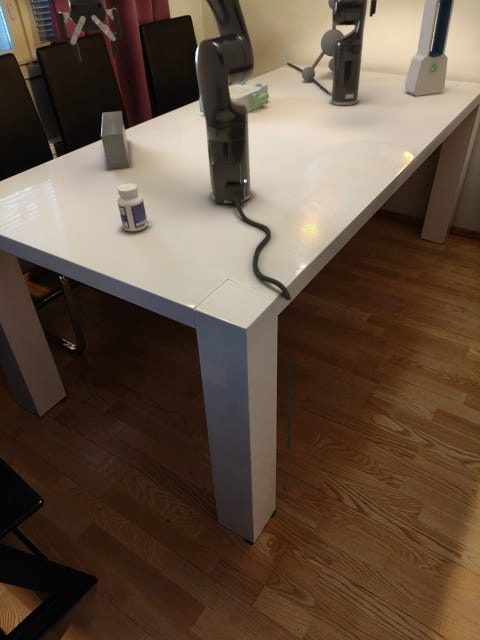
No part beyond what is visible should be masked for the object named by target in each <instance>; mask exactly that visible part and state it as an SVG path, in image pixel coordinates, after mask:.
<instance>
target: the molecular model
mask: <svg viewBox="0 0 480 640" xmlns="http://www.w3.org/2000/svg"><path fill="white" fill-rule="evenodd" d="M328 7H329V8H330V9H331V10H332V11H333V0H328ZM331 23H332V24H331V29H329V30H326V31H325V33H323V35H322V37H321V40H320V48H321V52H320V54H318V56H317V58H316V59H315V61H314V62H313V64H312V65H311V66H306V67H304V68H303V69H302V70H303V71H302V72H301V78H302V80H304V81H305V82H311V81H313V79H315V76H316V71H315V69H316V67H317V66H318V64H320V62H321V60H322V58H323V57H324V56H327V57H332V58H330V59H329V61H328V69H329V71H331V72H333V68H334V52H335V41H336V39H338V38H340V37H342V36H345V35H344V34H343V32H342V31H341V30H339V29H337V25H334V23H333V20H332V21H331Z"/></svg>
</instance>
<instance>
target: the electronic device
mask: <svg viewBox="0 0 480 640" xmlns="http://www.w3.org/2000/svg"><path fill="white" fill-rule="evenodd" d="M454 5H455V0H424V6H423V11H422V17H421V24H420V31H419V32H420V33H419V37H418V43H417V44H418V45H417V51H416V53H415V54H414V55H413V57H411V60H410V64H409V66H408V71H407V75H406V78H405V81H404V90H405V91H406V93H408V94H411V95H413V96H415V97H418V96H425V95H435V94H441V93H442V92H443V91H444V89H445V85H446V76H447V67H448V59H449V58H448V57H447V55H446V54H445V51H446V47H447V42H448V37H449V32H450V25H451V21H452V16H453V9H454Z"/></svg>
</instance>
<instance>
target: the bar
mask: <svg viewBox="0 0 480 640" xmlns="http://www.w3.org/2000/svg"><path fill="white" fill-rule="evenodd" d="M100 137H101V138H100V139H101V142H102V147H103V150H104V155H105V156H104V157H105V161H106V165H107V170H117V169H126V168H130V161H129V146H128V145H129V144H128V137H127V132H126V126H125V121H124V116H123V111H122V110H118V111H117V110H116V111H108V112H102V116H101V133H100Z"/></svg>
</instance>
